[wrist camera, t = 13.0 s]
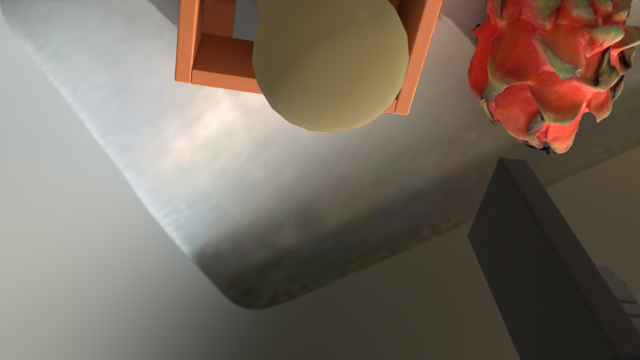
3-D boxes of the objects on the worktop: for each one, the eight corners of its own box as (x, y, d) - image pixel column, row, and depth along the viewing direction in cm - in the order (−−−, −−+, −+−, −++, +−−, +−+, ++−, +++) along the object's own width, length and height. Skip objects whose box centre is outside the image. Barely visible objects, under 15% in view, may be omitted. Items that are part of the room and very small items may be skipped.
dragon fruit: (538, -95, 33) (517, 88, 41) (431, -38, 30) (431, 150, 38) (698, -61, 28) (638, 141, 36) (593, 13, 24) (552, 218, 32)
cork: (300, -124, 26) (310, -64, 16) (408, -39, 28) (471, 55, 19) (225, -6, 28) (200, 102, 19) (330, 63, 30) (352, 189, 21)
